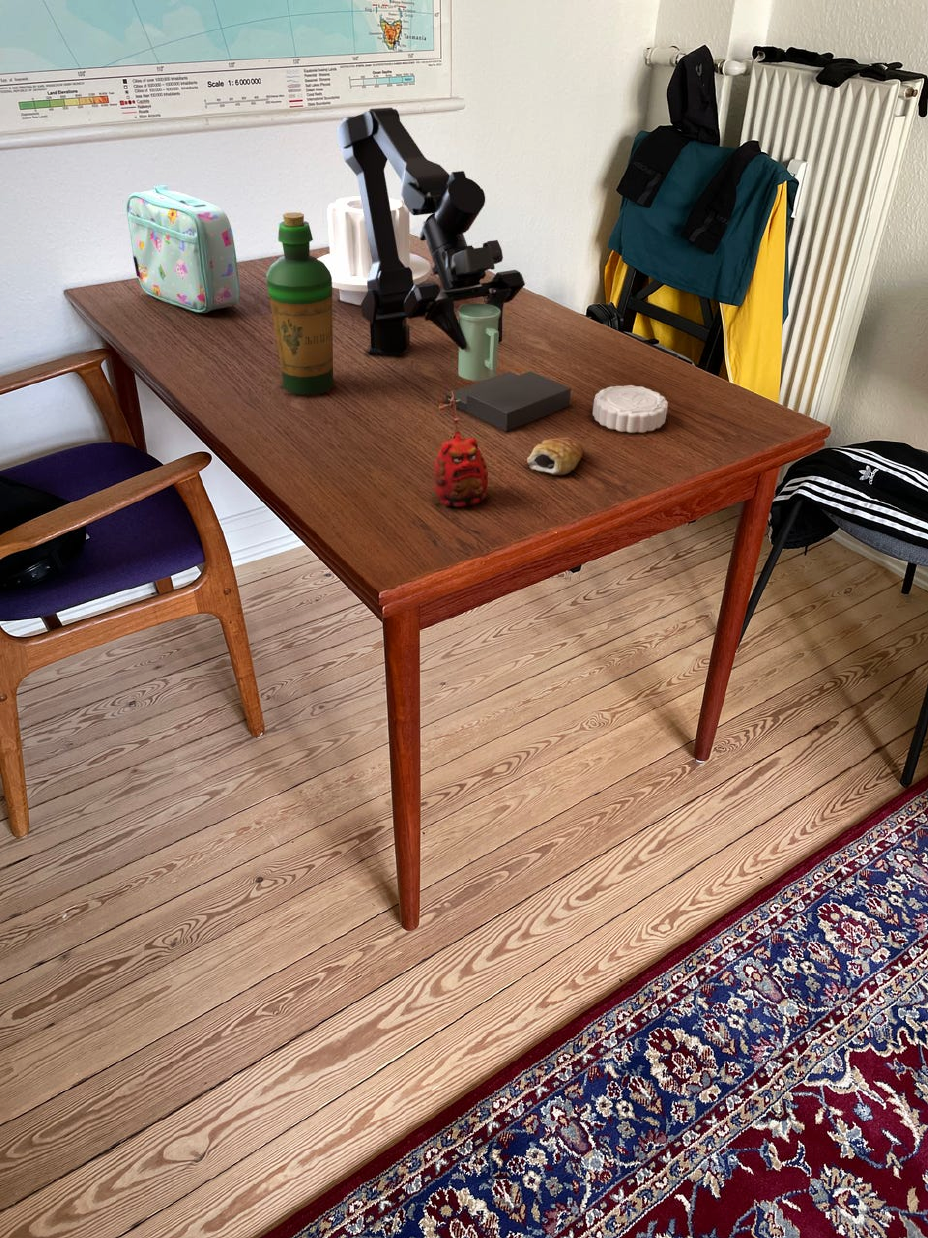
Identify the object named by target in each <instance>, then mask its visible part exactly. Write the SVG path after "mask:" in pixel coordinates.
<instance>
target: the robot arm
mask: <svg viewBox="0 0 928 1238" xmlns="http://www.w3.org/2000/svg"><path fill="white" fill-rule="evenodd" d="M336 137H337V142H338V145H339V147H340V148H341V151H342V155H343V160H344V162H345V163H346V164H347V166H348V167H349V168H350V169H351V171H352V172H353V173H354V174H355V176H356V178H357V185H358V189H359V191H358V192H359V196H361V202H362V207H363V213H364V218H365V224H366V229H367V235H368V240H369V246H370V252H371V257H372V264H373V265H372V268H371V271H370V273H369V276H368V279H367V287H368V292H367V294H366V295H365V297H364V299H363V301H362V303H361V306H360V309H361V315H362V318H364V319H365V320H366V321H368V322H369V332H370V333H369V335H370V347H369V349H368V351H367V352H368V354H370V355H379V356H390V357H398V358H399V357H400V358H401V357H403V355H404V354H405V352H406V351H407V350H408V348H409V347H410V346H411V342H410V341H411V338H410V337H411V336H410V333H411V331H410V324H409V323H407V319H409V320H410V319H417V318H422V317H423V318H424V320H425V321H426V322H432V323H433V324H434V325H435V326H436V327H438V328H439V330H441V331H442V332H444V333H445V335H446V336H447V337H449V338H450V339H451V340H452V341H453V343H455V345H456V346H457V347H458V348H459V347H460V348H461V349H462V350H464V349H465V348H466V342H465V339H464V335H463V333H462V330H461V328H460V325H459V319H458V318H457V315H456V311H455V302H458V301H464V300H465V301H466V300H471V299H477V298H483V299H482V300H483V302H484V304H489V305H493V306H495V307H497V308H499V309H500V311H501V313H500V317H499V320H498V332H499V340H498V344H500V343H502V342H503V313H504V312H503V311H504V305H505V304H506V303H510V302H512V301H513V300H514V299H515V297H517V295H518V294H519V293H520V291H521V290H522V289H523V288H524V287H525V285H526V282H525V279H524V277H523V274H522V273H521V272H520V271H519V270H517V269H511V270H505V271H498V272H496V273H495V274H494V275H493V277H492V278H491V280H490V281H489V282H482V283H481V280H484V279H485V277H486V276H487V273H486V271H488V270H495V265H496V264H499V263H502V262H503V259H504V256H503V255H504V254H503V249H502V246H501V244H500V242H499V240H498V239H493V240H488V241H486V242H483V243H482V246H481V247H474V246H473V244H472V245H468V244H467V243H468V242H467V241H466V238H465V235H464V234H465V233H466V232H468V231H469V230H470V229H471V227H472V225H473V224H474V222H475V221H476V219H477V217H478V216H479V214H480V213H481V211H482V209H483V208H484V206H485V203H486V194H485V192H484V189H483V188H481V186H480V185H479V184H478V183H477V182H476V181H474V180H473V179H471V178H469V177H467V176H466V174H465V171H464V170H459V171H452V172H451V173H448V172H447V171H446V169H445V168H444V167H443V166H442V165H441V164H438V163H435V162H433V161H431V160H429V159H427V158H426V157H425V155H424V154H423V152H422V151H421V149H420V148H419V146H418V144H417V143H416V142H415V140H414V139H413V137H412V135H410V133H409V132H408V130H407V129H406V127H405V125H404V124H403V122H402V121H401V117H400V114H399V111H398V110H397V109H396V108H393V107H378V108H370V109H369V110H366V111H365V112H363V113H362V114H358V115H356V116H345V117H344V118H342V122H341V123H340V124H339V125H338V127H337V129H336ZM387 162H389V163H390V165H391V167H392V168H393V170H394V171H395V173H396V174H397V176H398V177H399V179H400V181H401V183H402V186H401V192H400V195H401V198H402V199H403V200H402V201H403V202H404V203H405V205H406V207H407V208H408V210H409V214H411V215H412V216H422V215H429V216H428V217H427V218H426V219H425V221H422V227H421V230H420V232H419V240H420V242H421V241H426V245H427V246H428V247H427V248H428V249H429V253H430V256H431V259H432V261H433V266H432V268H431V272H432V273H433V275H434V276H435V275H437V276H438V279H439V281H440V284H441V288H440V285H439V284H438V283H437V282H435V281H432V282H426V283H420V284H417V285H414V283H413V276H412V271H411V269H410V268H409V267H405V266H404V264H403V263H402V262H401V261H400V259H399V256H398V250H397V244H396V238H395V232H394V227H393V221H392V215H391V209H390V203H389V197H390V196H389V191H388V186H387V181H386V176H385V175H386V174H385V169H386V166H387Z"/></svg>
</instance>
